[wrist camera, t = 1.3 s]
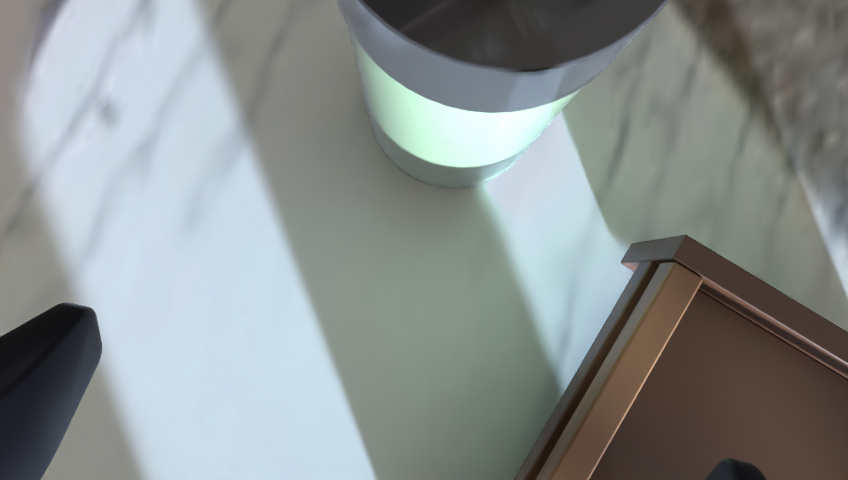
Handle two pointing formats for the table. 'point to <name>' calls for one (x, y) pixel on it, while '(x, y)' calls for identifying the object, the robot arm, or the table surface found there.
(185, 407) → the table surface
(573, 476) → the wooden tray
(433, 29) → the spice jar
